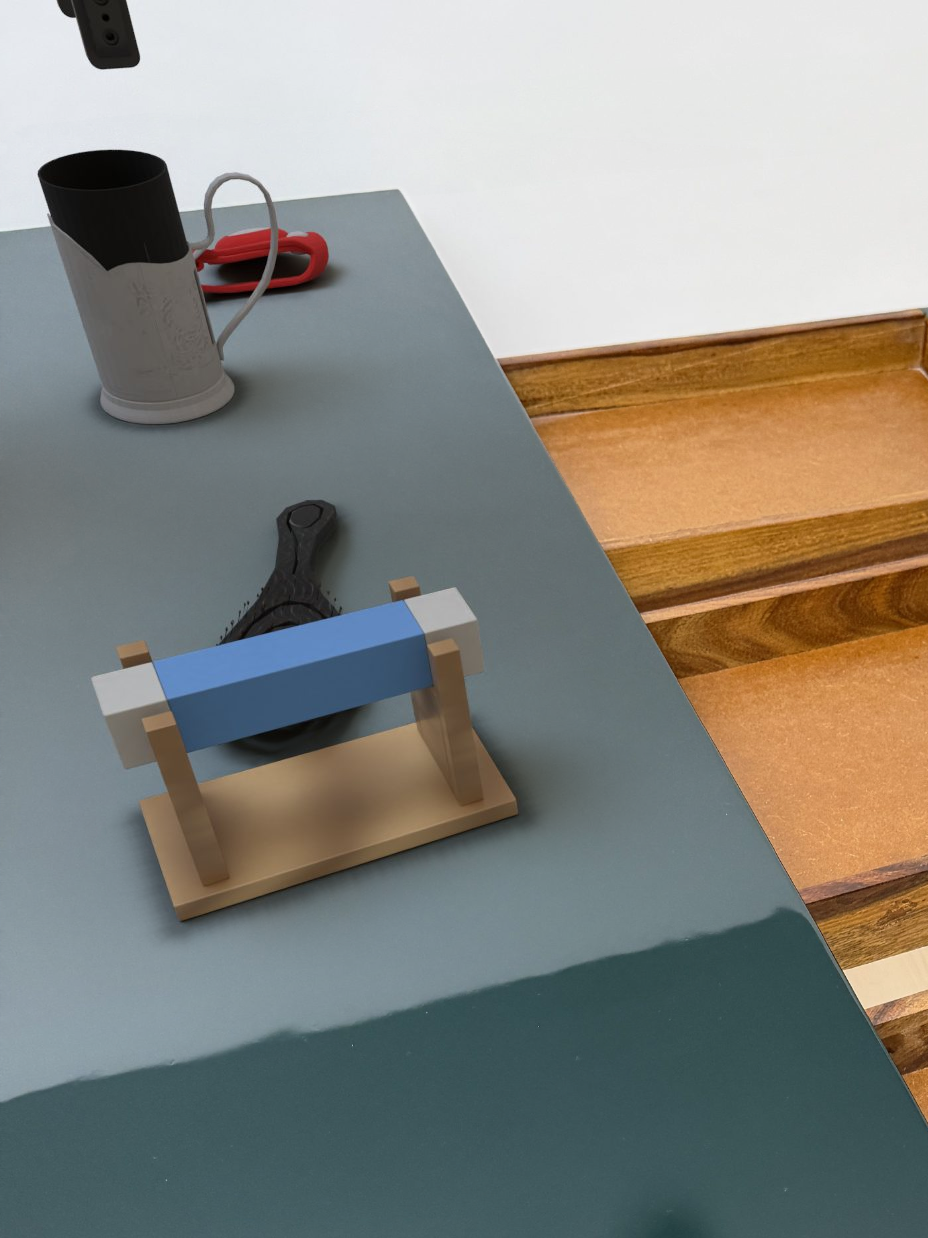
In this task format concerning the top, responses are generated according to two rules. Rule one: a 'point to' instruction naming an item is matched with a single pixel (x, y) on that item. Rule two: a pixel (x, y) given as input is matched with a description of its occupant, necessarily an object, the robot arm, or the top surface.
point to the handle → (287, 674)
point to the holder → (321, 796)
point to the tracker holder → (258, 245)
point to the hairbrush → (292, 577)
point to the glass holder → (142, 283)
